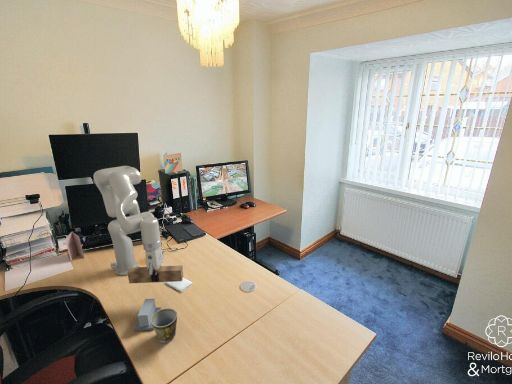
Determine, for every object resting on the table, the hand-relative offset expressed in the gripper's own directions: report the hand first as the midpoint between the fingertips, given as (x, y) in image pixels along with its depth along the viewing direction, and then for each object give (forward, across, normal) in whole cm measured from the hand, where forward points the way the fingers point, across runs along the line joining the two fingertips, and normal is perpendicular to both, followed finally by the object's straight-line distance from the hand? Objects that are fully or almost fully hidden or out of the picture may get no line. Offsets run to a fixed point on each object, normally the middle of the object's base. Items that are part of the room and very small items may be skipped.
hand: (156, 277), depth 125 cm
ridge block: (+13, -12, +2) cm, 18 cm away
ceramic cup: (+13, -23, -9) cm, 28 cm away
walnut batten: (+1, 0, 0) cm, 1 cm away
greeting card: (+14, +45, +62) cm, 78 cm away
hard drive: (+14, +12, -7) cm, 20 cm away
